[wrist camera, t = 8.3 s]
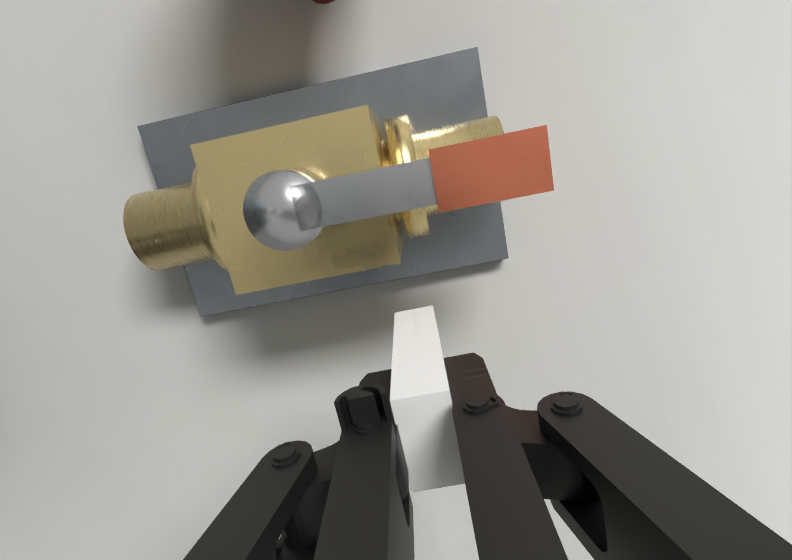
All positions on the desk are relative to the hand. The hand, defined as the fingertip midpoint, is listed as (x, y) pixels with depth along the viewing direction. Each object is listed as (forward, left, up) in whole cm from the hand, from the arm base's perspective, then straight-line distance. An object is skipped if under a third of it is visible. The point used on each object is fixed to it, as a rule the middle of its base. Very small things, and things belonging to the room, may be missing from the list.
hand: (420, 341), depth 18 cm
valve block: (-4, +6, -12) cm, 14 cm away
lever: (0, +6, -4) cm, 7 cm away
